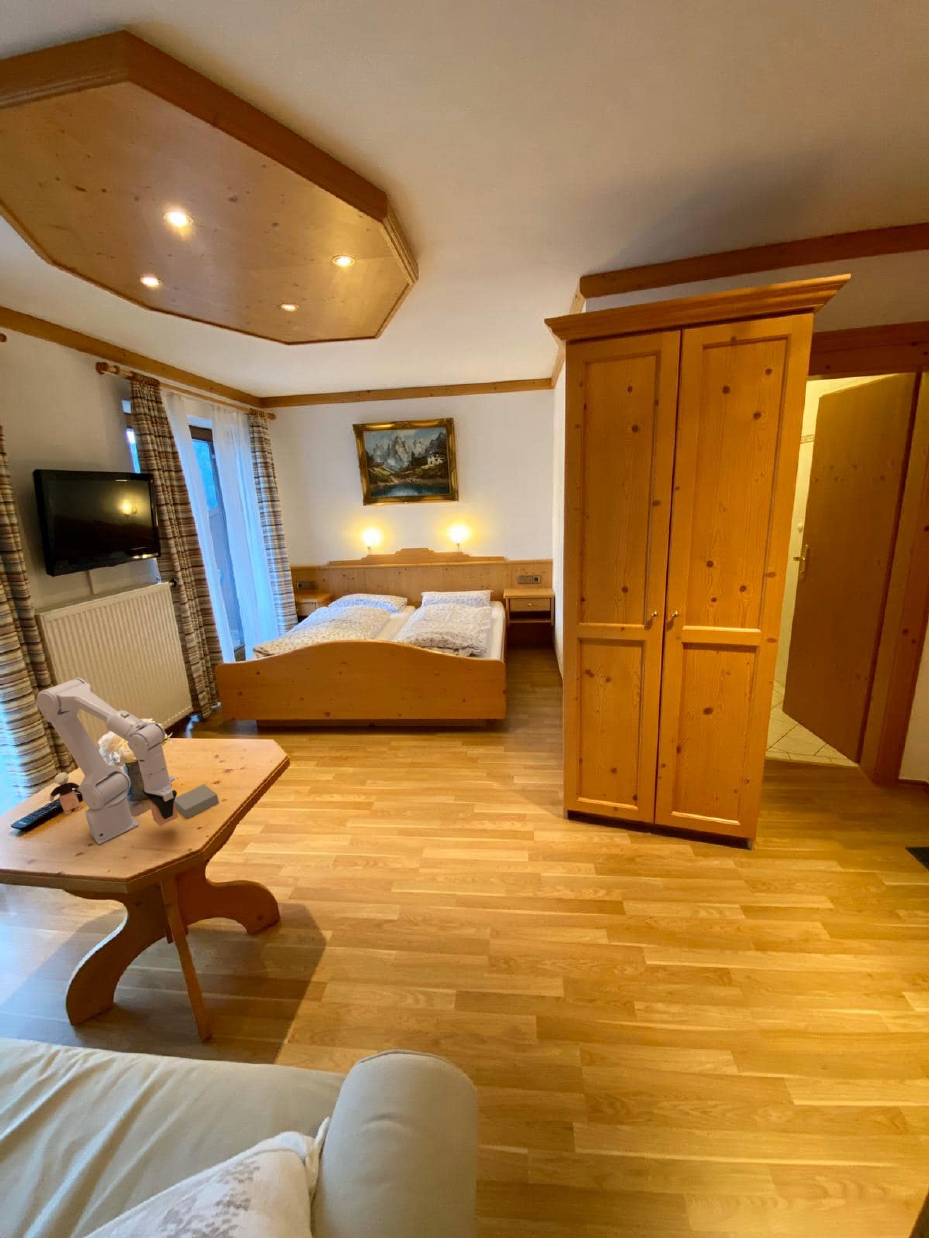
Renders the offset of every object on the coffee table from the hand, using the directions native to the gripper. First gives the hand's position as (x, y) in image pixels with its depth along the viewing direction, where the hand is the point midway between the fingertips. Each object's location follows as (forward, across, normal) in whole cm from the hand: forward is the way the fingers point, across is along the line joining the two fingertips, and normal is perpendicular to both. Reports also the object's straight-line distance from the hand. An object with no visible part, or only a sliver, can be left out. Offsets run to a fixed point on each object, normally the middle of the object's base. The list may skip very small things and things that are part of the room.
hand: (164, 813), depth 129 cm
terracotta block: (+2, 0, 0) cm, 2 cm away
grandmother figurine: (+7, +37, +14) cm, 40 cm away
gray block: (+6, +7, -10) cm, 14 cm away
